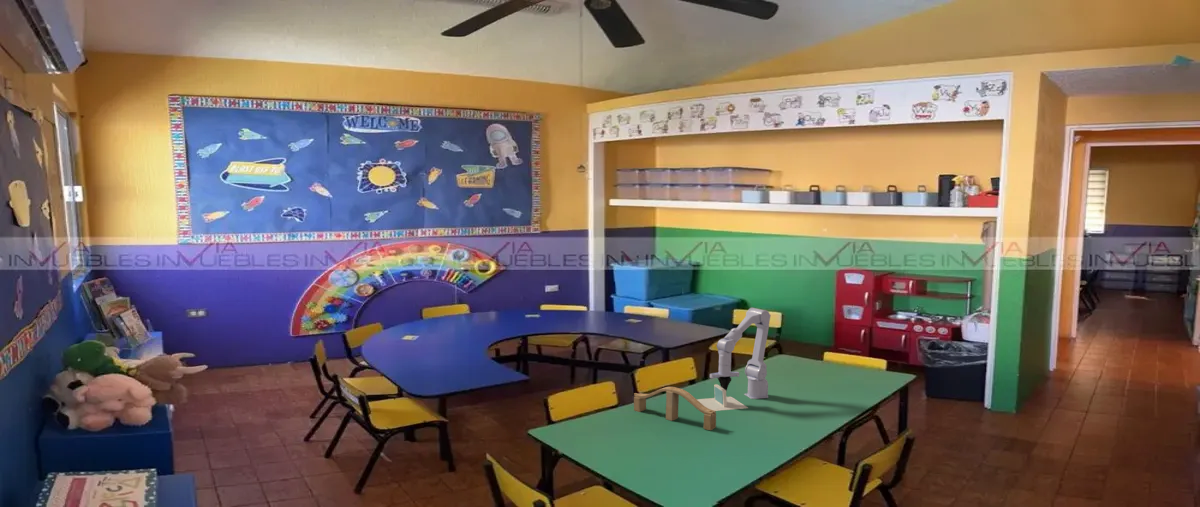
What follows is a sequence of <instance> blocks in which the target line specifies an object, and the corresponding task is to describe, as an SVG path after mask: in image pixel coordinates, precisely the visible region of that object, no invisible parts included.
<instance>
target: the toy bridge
mask: <svg viewBox="0 0 1200 507" xmlns="http://www.w3.org/2000/svg"><path fill="white" fill-rule="evenodd" d="M662 392H665V393H666V394H665V395H666V399H665V400H666V401H665V405H666V406H665V420H667V421H672V422H673V421H675V420H677V419H679V405H680V404H679V403H680V402H679V400H680V397H679V396H681V397H682V398H683V399H685V400H686V401H687V402H688V403H690V405H691V406H693V407H694V408H695V409H696V410H698V411H699V412H701V413H702V414H703V429H704V430H707V431H712V430H714V429H716V427H717V411H714V410H711V409H708V408H707V407H705V406H704V405H702V404H701V403H700V402H699V401H698V400H697V398H695V397H694V395H692V394H691V393H690V392H688V391H687V390H685V389H682V388H679V387H677V386H676V387H675V386H666V387H663V388H660V389H657V390H655V391H652V392H651V393H642V392H639V393H637V392H635V393H633V394H634V395H633V396H634V397H633V411H635V412H638V413H641V412H643V411H646V410H647V398H650V397H653V396H654V395H655V396H656V395H657V394H659V393H662Z"/></svg>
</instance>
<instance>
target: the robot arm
mask: <svg viewBox="0 0 1200 507" xmlns="http://www.w3.org/2000/svg"><path fill="white" fill-rule="evenodd" d="M770 321H771V314H770V312H769V311H768V310H767V309H761V308H756V307H750V308H748V310H747V311H746V312H745V317H744V318H743V319H742V320H741V322H740V323H739V324H738V326H737V327H733V328H731V329H730V330H729V332H728V333H727V334H726V335H725V336H724V337H723V338H720V339H719V340H718V341H717V344H716V348H717V353H718V372H712V373H709V379H717V380H718V382H719V386H720V387H722V388H723V389H725V390H726V392H727V390H728V387H729V385H730V383H731V382H732V378H733V377H737V378H738V377H740V372H738V371H731V370H732V352H733V351H734V350H735V346H736V344H737V342H739V340H741V338H742V337H743V333H744V332H745V331H746V330H747V329H748V328H750V326H752V324H754V325H755V326H756V333H755V340H754V345H753V352H752V355H751V356H752V357H751V358H750V359H749V360H748V361H747V364H746V366H745V367H744V374H745V376H746V378H747V392H746V393H743V395H744V396H746V397H748V398H749V399H751V400H756V399H769V382H768V380H767V379H766V377H767V376H768V371H767V370H768V369H767V368H768V366H767V364H766V363H765V362H764V357H765V353H766V352H765V351H766V346H767V340H768V335H769V334H768V333H769V329H770Z"/></svg>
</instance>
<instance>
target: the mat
mask: <svg viewBox="0 0 1200 507" xmlns="http://www.w3.org/2000/svg"><path fill="white" fill-rule="evenodd" d="M696 399H697V398H696ZM697 400H698V401H699V402H700V403H701V404H702V405H704V406H705V407H707V408H708V409H711V410H714V411H716V412H717V411H730V410H739V409H740V410H743V409H749V407H748V406H747V405H745V404H743V403H741V402H740V401H738V400H737V399H736V398H734V397H732V396H726V400H727V407H723V406H722V405H720V404H719V403H717V402H716V401H715V397H711V398H698V399H697Z"/></svg>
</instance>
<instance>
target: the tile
mask: <svg viewBox="0 0 1200 507" xmlns="http://www.w3.org/2000/svg"><path fill="white" fill-rule="evenodd" d="M713 386H714V387H713V389H714V391H713V392H714V398H715V401H716V402H717V403H719V404H720V405H722V406H723V407H727V400H726V397H727V391H726V390H725V389H723V388H722V387H721V385H720V384H717V383H715V384H714V385H713Z"/></svg>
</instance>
